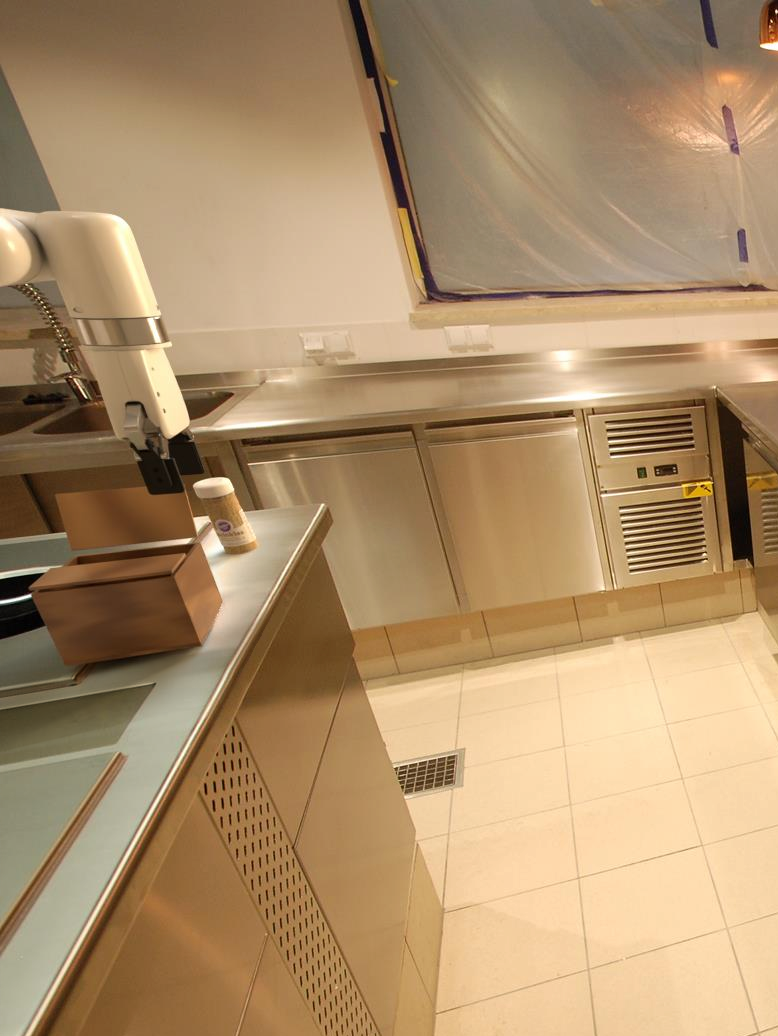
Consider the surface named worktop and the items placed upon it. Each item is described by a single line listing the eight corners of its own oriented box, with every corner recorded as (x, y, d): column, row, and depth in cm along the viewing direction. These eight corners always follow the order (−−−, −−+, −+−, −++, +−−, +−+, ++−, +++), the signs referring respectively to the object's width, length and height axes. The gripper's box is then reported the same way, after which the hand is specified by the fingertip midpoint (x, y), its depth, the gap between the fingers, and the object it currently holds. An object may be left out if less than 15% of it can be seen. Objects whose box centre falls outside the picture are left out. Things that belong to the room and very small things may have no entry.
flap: (54, 494, 108) (56, 494, 108) (71, 550, 109) (72, 550, 109) (183, 483, 114) (184, 483, 114) (197, 537, 115) (198, 537, 115)
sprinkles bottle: (229, 569, 133) (189, 488, 126) (232, 558, 136) (193, 479, 129) (264, 562, 135) (227, 483, 128) (267, 552, 138) (230, 474, 131)
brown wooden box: (65, 666, 102) (27, 588, 97) (103, 621, 113) (70, 549, 109) (202, 645, 108) (171, 570, 103) (224, 605, 119) (198, 536, 115)
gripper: (105, 328, 99) (159, 470, 107) (48, 342, 86) (115, 505, 93) (186, 327, 103) (233, 465, 110) (144, 341, 89) (201, 498, 96)
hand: (179, 483), depth 101 cm, fingers open, 9 cm apart
